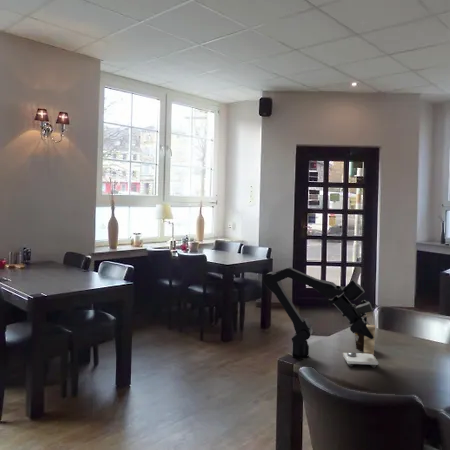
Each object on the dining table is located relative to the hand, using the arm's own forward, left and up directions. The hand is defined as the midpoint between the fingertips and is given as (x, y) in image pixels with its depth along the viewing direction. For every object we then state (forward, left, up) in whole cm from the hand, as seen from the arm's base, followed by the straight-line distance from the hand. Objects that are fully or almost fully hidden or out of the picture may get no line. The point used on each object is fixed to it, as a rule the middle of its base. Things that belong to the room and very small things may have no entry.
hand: (372, 336), depth 185 cm
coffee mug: (+1, +21, -12) cm, 24 cm away
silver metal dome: (-8, +2, -9) cm, 12 cm away
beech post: (-1, 0, -7) cm, 7 cm away
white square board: (-5, 0, -11) cm, 12 cm away
